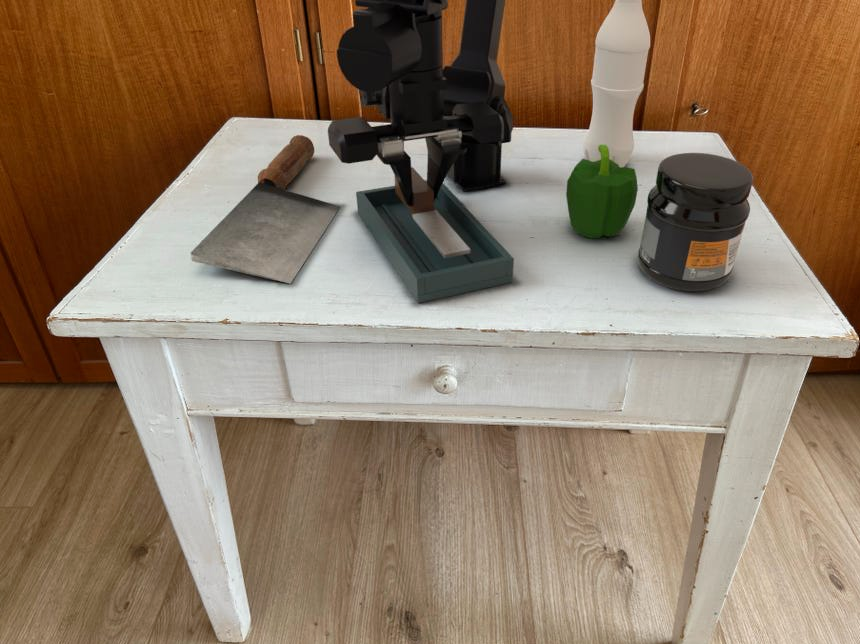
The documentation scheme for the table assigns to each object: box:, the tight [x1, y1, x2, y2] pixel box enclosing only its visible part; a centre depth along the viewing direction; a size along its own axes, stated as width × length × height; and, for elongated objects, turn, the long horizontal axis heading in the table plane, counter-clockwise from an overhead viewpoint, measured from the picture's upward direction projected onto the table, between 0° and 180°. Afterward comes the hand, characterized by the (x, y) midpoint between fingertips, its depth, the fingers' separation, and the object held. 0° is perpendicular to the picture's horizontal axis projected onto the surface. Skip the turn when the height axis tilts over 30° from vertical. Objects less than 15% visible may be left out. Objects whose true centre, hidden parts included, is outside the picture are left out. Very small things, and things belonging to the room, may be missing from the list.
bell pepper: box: [565, 145, 639, 239], centre depth 84 cm, size 8×8×10 cm
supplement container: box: [637, 152, 754, 292], centre depth 76 cm, size 10×10×12 cm
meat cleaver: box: [190, 134, 341, 285], centre depth 88 cm, size 34×11×4 cm, turn 173°
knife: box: [394, 166, 470, 258], centre depth 80 cm, size 3×17×3 cm, turn 24°
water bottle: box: [583, 0, 651, 167], centre depth 95 cm, size 7×7×25 cm
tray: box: [355, 179, 515, 304], centre depth 82 cm, size 11×22×3 cm, turn 24°
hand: (420, 202), depth 83 cm, fingers closed on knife, 2 cm apart
